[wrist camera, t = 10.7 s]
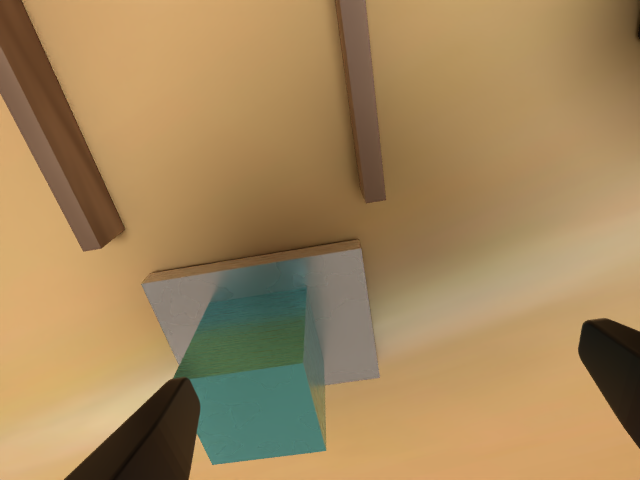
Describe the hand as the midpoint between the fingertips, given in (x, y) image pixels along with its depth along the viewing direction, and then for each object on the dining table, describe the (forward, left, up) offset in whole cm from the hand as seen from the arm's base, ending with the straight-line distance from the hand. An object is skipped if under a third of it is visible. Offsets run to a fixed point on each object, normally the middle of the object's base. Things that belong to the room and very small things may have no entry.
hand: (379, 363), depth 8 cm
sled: (+6, +8, -13) cm, 16 cm away
